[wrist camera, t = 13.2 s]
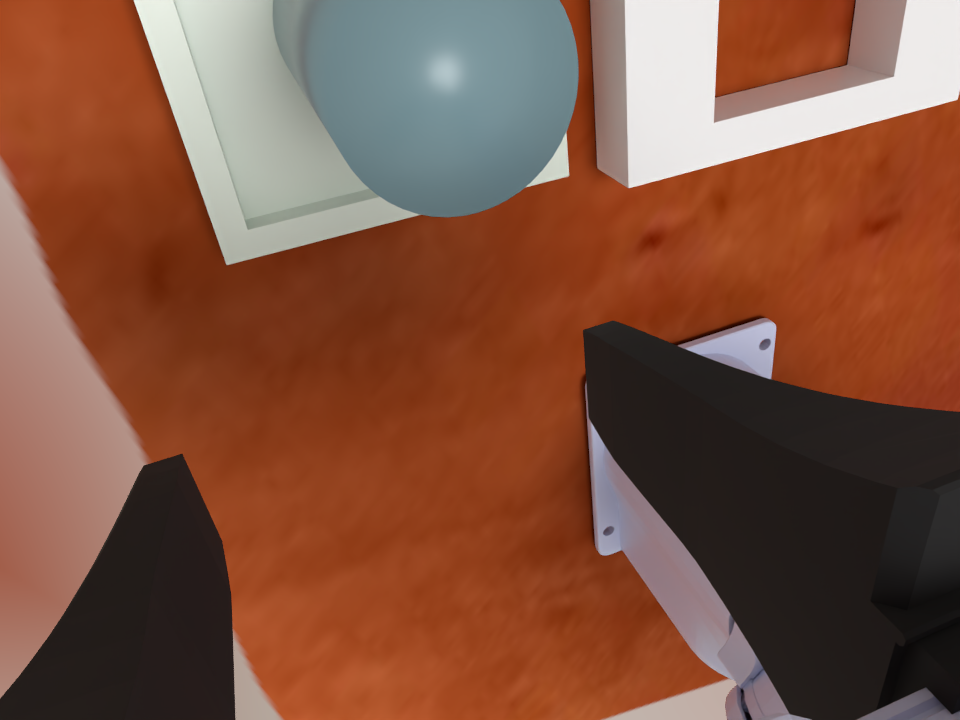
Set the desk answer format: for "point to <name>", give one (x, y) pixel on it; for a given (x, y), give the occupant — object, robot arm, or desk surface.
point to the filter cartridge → (436, 92)
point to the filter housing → (758, 111)
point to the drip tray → (260, 131)
